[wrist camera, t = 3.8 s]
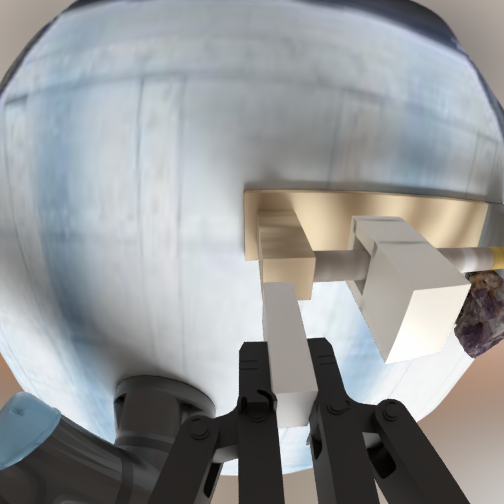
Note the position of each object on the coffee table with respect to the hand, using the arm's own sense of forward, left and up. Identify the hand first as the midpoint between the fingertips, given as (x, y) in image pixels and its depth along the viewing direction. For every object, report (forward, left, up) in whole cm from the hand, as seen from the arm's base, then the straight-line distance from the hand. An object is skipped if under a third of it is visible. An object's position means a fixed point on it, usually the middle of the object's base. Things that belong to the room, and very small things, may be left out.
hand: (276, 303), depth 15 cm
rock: (+30, -10, -11) cm, 33 cm away
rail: (+13, 0, -11) cm, 17 cm away
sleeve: (+8, 0, -6) cm, 10 cm away
